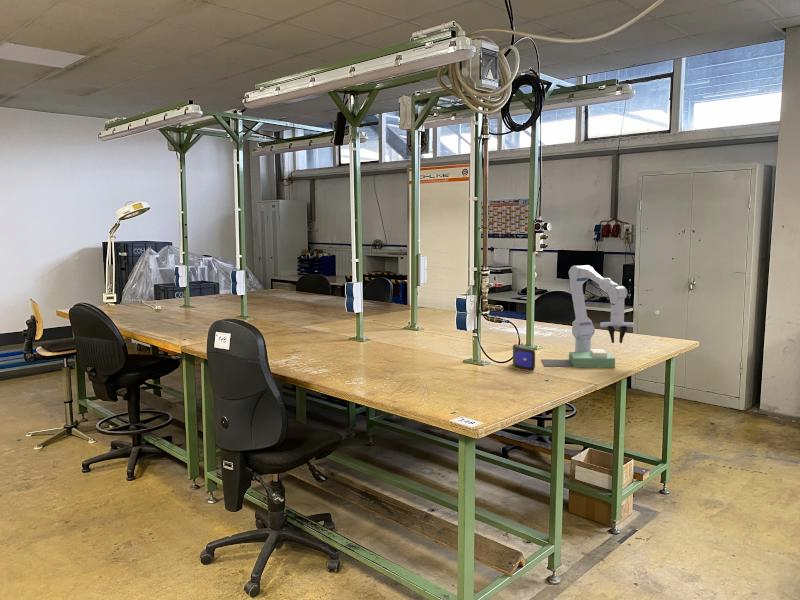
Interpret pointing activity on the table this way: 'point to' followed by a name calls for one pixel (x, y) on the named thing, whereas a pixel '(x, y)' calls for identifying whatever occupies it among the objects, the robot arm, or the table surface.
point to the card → (598, 352)
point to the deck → (590, 360)
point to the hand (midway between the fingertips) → (616, 342)
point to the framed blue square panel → (523, 357)
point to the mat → (556, 363)
